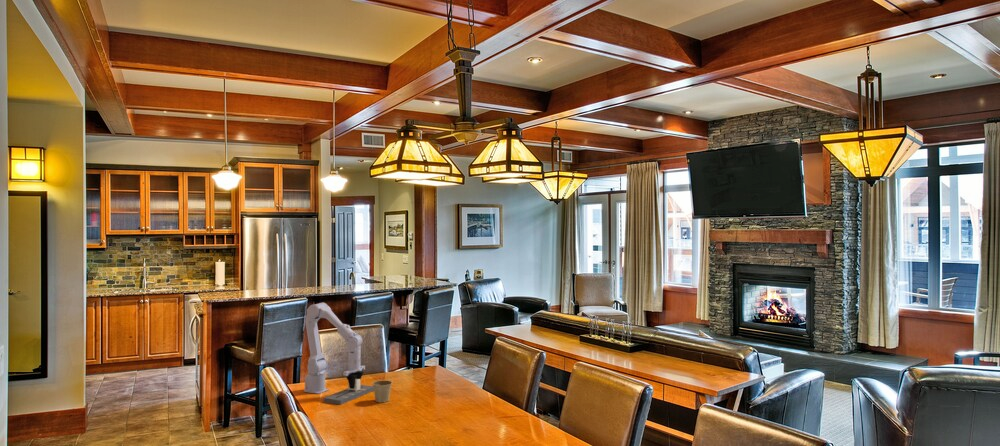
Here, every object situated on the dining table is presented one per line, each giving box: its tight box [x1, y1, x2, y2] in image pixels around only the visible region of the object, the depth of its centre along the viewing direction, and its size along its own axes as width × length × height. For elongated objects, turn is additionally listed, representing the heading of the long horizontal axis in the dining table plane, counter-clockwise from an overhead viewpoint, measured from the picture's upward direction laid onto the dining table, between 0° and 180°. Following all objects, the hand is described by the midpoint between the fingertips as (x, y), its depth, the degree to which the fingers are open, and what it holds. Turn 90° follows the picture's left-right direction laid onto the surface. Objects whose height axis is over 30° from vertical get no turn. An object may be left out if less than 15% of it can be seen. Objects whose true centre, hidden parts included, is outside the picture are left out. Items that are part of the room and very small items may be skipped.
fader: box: [347, 379, 361, 391], centre depth 283 cm, size 5×3×5 cm, turn 67°
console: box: [323, 384, 374, 406], centre depth 280 cm, size 10×26×2 cm, turn 157°
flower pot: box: [371, 379, 393, 404], centre depth 272 cm, size 9×9×9 cm
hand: (354, 387), depth 283 cm, fingers closed on fader, 3 cm apart
